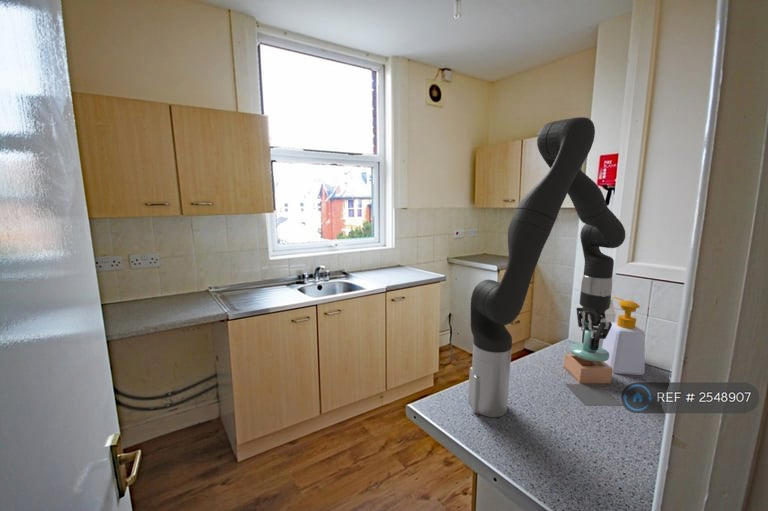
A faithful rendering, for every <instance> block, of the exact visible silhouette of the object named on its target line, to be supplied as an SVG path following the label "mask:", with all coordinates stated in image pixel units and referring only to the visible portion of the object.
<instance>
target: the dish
mask: <svg viewBox="0 0 768 511" xmlns="http://www.w3.org/2000/svg"><path fill="white" fill-rule="evenodd" d="M563 369H564V370H566V372H567V373H569V374H570V376H571V377H572V378H574V379H575V380H576V381H577V383H578V384H611V383H612V377H613V376H612V375H613V372H612V369H613V368H611V367H610V366H609V365H607V364H606V363H605V362H604V361H601V362H598V361H590V360H585V359H582V358H579V357H577V356H575V355H574V354H572V353H564V359H563Z"/></svg>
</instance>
